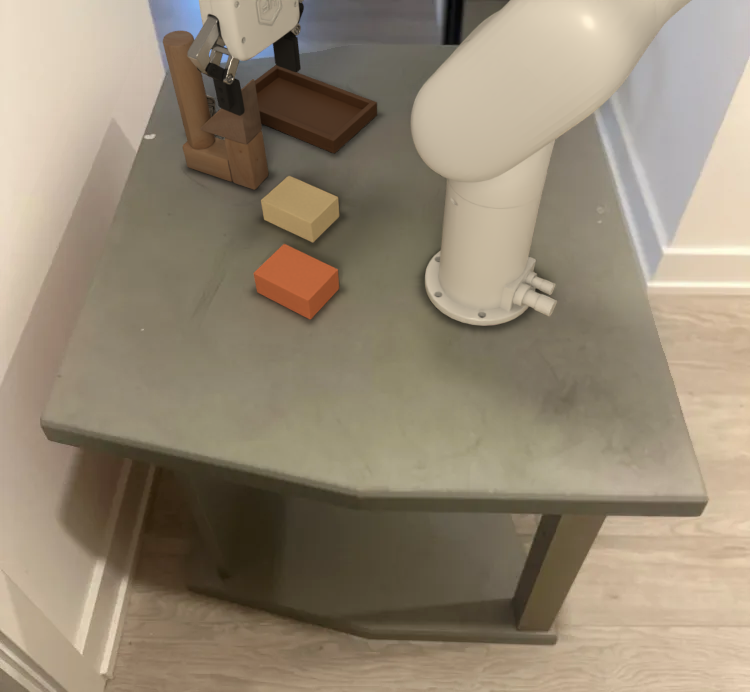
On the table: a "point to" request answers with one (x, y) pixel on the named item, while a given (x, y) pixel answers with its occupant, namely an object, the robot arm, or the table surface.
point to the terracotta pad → (297, 281)
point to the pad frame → (311, 108)
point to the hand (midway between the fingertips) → (260, 88)
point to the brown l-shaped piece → (216, 123)
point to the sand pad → (300, 208)
